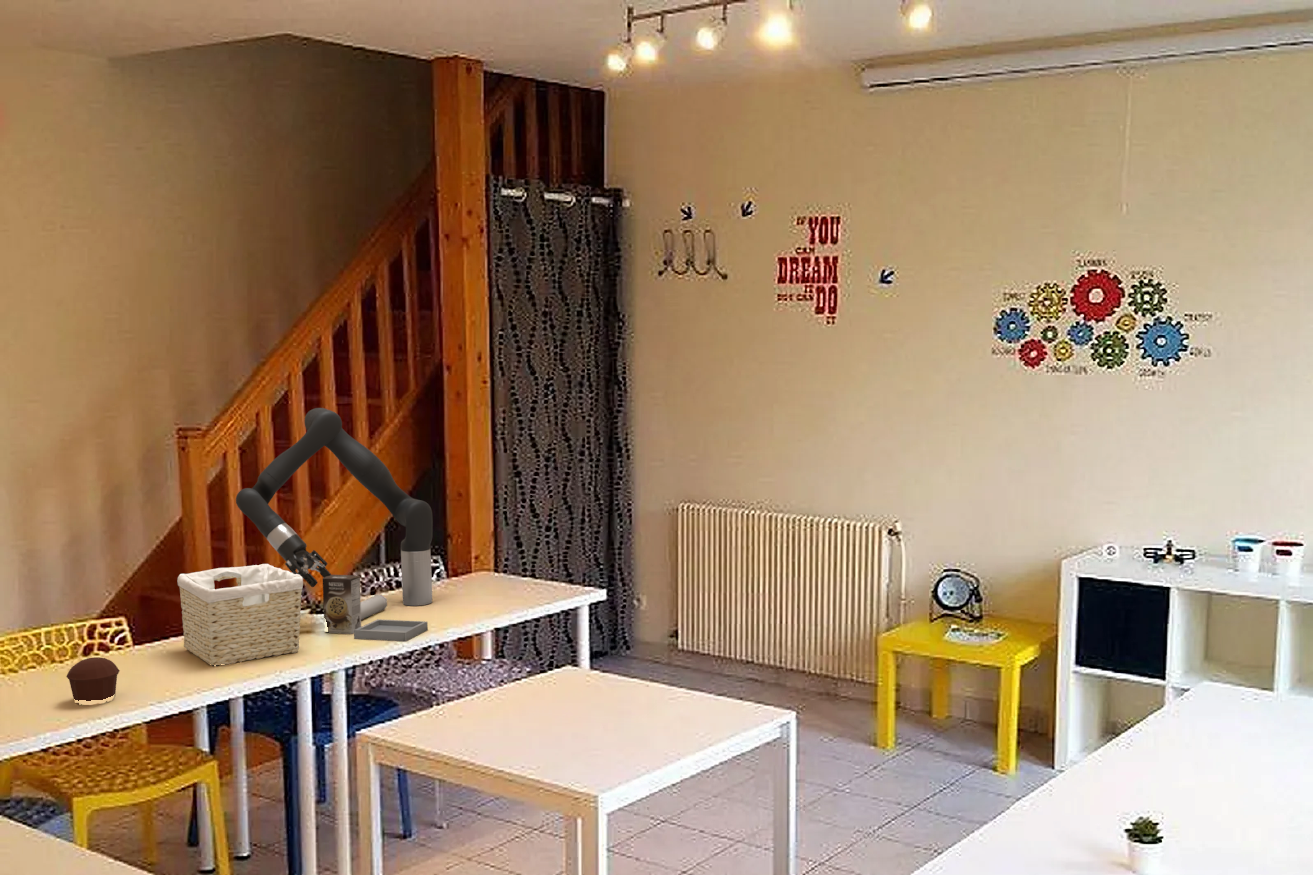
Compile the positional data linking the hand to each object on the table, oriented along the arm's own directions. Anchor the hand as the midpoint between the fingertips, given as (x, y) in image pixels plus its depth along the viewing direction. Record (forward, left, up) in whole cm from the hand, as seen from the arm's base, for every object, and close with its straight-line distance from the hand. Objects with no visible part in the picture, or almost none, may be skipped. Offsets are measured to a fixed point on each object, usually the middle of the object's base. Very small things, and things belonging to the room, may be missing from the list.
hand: (323, 582), depth 381 cm
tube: (-16, +3, -15) cm, 22 cm away
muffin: (+77, -17, -14) cm, 80 cm away
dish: (+1, +22, -14) cm, 26 cm away
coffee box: (0, +6, -14) cm, 16 cm away
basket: (+27, -9, -15) cm, 32 cm away
